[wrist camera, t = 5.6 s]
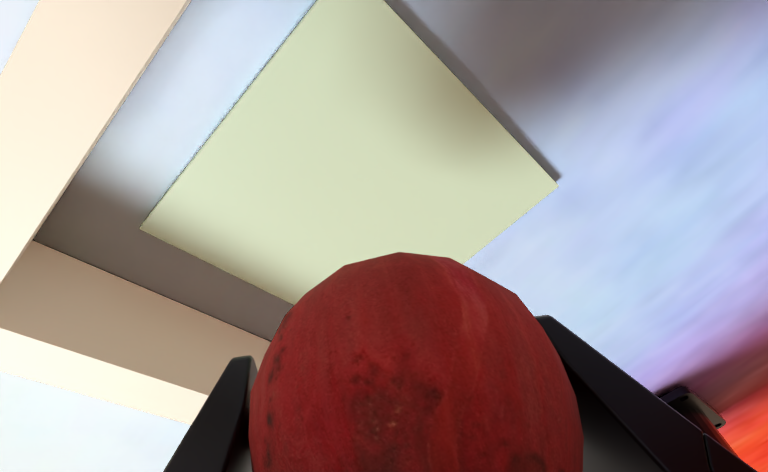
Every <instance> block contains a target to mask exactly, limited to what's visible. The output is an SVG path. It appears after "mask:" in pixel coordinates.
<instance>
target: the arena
mask: <svg viewBox="0 0 768 472" xmlns="http://www.w3.org/2000/svg"><path fill="white" fill-rule="evenodd" d="M190 2H191V0H39V2H38V4H37V6H36V8H35V10H34V12H33V14H32V16H31V17H30V19H29V21H28V23H27V25H26V27H25V29H24V31H23V33H22V35H21V37H20V39H19V40H18V42H17V44H16V46H15V48H14V50H13V52H12V54H11V56H10V58H9V60H8V62H7V64H6V65H5V67H4V69H3V71H2V73H1V75H0V371H2V372H5V373H9V374H12V375H16V376H19V377H23V378H26V379H30V380H33V381H37V382H41V383H44V384H48V385H51V386H55V387H58V388H62V389H65V390H69V391H73V392H76V393H80V394H83V395H87V396H90V397H94V398H97V399H101V400H104V401H108V402H112V403H115V404H119V405H122V406H126V407H129V408H133V409H136V410H140V411H143V412H147V413H151V414H154V415H158V416H161V417H165V418H168V419H172V420H175V421H179V422H182V423H186V424H190V425H192V423H193V421H194V420H195V418H196V416H197V415H198V413H199V411H200V410H201V408H202V406H203V405H204V403H205V401H206V400H207V398H208V396H209V395H210V393H211V391H212V390H213V388H214V386H215V385H216V383H217V381H218V380H219V378H220V376H221V375H222V373H223V371H224V370H225V368H226V366H227V365H228V363H229V362H230V360H231V359H232V358H234V357H240V356H247V355H251V356H252V357H253V358H254V361H255V364H256V367H257V370H258V371H259V368H260V365H261V363H262V360H263V357H264V355H265V353H266V351H267V349H268V347H269V345H270V343H271V342H270V341H267V340H265V339H263V338H260V337H258V336H256V335H253V334H251V333H249V332H246V331H244V330H242V329H239V328H237V327H235V326H232V325H230V324H227V323H225V322H223V321H220V320H218V319H216V318H213V317H211V316H209V315H206V314H204V313H202V312H199V311H197V310H195V309H192V308H190V307H188V306H185V305H183V304H181V303H178V302H176V301H174V300H171V299H169V298H167V297H164V296H162V295H159V294H157V293H155V292H152V291H150V290H148V289H145V288H143V287H141V286H138V285H136V284H134V283H131V282H129V281H127V280H124V279H122V278H120V277H117V276H115V275H113V274H110V273H108V272H106V271H103V270H101V269H99V268H96V267H94V266H91V265H89V264H87V263H84V262H82V261H80V260H77V259H75V258H73V257H70V256H68V255H66V254H63V253H61V252H59V251H56V250H54V249H52V248H49V247H47V246H45V245H42V244H40V243H38V242H35V241H33V238H34V237H35V235H36V234H37V232H38V231H39V229H40V228H41V226H42V225H43V223H44V222H45V220H46V219H47V217H48V216H49V214H50V213H51V211H52V210H53V208H54V207H55V205H56V204H57V202H58V201H59V199H60V198H61V196H62V194H63V193H64V191H65V190H66V188H67V187H68V185H69V184H70V182H71V181H72V179H73V178H74V176H75V175H76V173H77V172H78V170H79V169H80V167H81V166H82V164H83V163H84V161H85V160H86V158H87V157H88V155H89V154H90V152H91V151H92V149H93V148H94V146H95V145H96V143H97V142H98V140H99V139H100V137H101V136H102V134H103V133H104V131H105V130H106V128H107V127H108V125H109V124H110V122H111V121H112V119H113V118H114V116H115V115H116V113H117V112H118V110H119V109H120V107H121V106H122V104H123V103H124V101H125V100H126V98H127V97H128V95H129V94H130V92H131V91H132V89H133V88H134V86H135V85H136V83H137V82H138V80H139V79H140V77H141V76H142V74H143V73H144V71H145V70H146V68H147V67H148V65H149V64H150V62H151V61H152V59H153V58H154V56H155V55H156V53H157V52H158V50H159V48H160V47H161V45H162V44H163V42H164V41H165V39H166V38H167V36H168V35H169V33H170V32H171V30H172V29H173V27H174V26H175V24H176V23H177V21H178V20H179V18H180V17H181V15H182V14H183V12H184V11H185V9H186V8H187V6H188V5H189V3H190ZM558 186H559V185H558V184H557V183H556V182H555V181H554V180H553V179H552V178H551V177H550V176H549V175H548V174H547V173H546V172H545V170H544V169H543V168H542V167H541V166H540V165H539V164H538V163H537V162H536V161H535V160H534V159H533V158H532V157H531V156H530V155H529V154H528V152H527V151H526V150H525V149H524V148H523V147H522V146H521V145H520V144H519V143H518V142H517V141H516V140H515V139H514V138H513V137H512V136H511V134H510V133H509V132H508V131H507V130H506V129H505V128H504V127H503V126H502V125H501V124H500V123H499V122H498V121H497V120H496V119H495V118H494V116H493V115H492V114H491V113H490V112H489V111H488V110H487V109H486V108H485V107H484V106H483V105H482V104H481V103H480V102H479V101H478V100H477V98H476V97H475V96H474V95H473V94H472V93H471V92H470V91H469V90H468V89H467V88H466V87H465V86H464V85H463V84H462V83H461V82H460V80H459V79H458V78H457V77H456V76H455V75H454V74H453V73H452V72H451V71H450V70H449V69H448V68H447V67H446V66H445V65H444V64H443V62H442V61H441V60H440V59H439V58H438V57H437V56H436V55H435V54H434V53H433V52H432V51H431V50H430V49H429V48H428V47H427V46H426V44H425V43H424V42H423V41H422V40H421V39H420V38H419V37H418V36H417V35H416V34H415V33H414V32H413V31H412V30H411V29H410V28H409V26H408V25H407V24H406V23H405V22H404V21H403V20H402V19H401V18H400V17H399V16H398V15H397V14H396V13H395V12H394V11H393V10H392V8H391V7H390V6H389V5H388V4H387V3H386V2H385V1H384V0H317V1H316V2H315V3H314V5H313V6H312V7H311V8H310V10H309V11H308V12H307V13H306V15H305V16H304V17H303V19H302V20H301V21H300V22H299V24H298V25H297V26H296V27H295V29H294V30H293V31H292V33H291V34H290V35H289V36H288V38H287V39H286V40H285V42H284V43H283V44H282V45H281V47H280V48H279V49H278V50H277V52H276V53H275V54H274V56H273V57H272V58H271V59H270V61H269V62H268V63H267V65H266V66H265V67H264V68H263V70H262V71H261V72H260V73H259V75H258V76H257V77H256V79H255V80H254V81H253V82H252V84H251V85H250V86H249V88H248V89H247V90H246V91H245V93H244V94H243V95H242V96H241V98H240V99H239V100H238V102H237V103H236V104H235V105H234V107H233V108H232V109H231V111H230V112H229V113H228V114H227V116H226V117H225V118H224V119H223V121H222V122H221V123H220V125H219V126H218V127H217V128H216V130H215V131H214V132H213V134H212V135H211V136H210V137H209V139H208V140H207V141H206V142H205V144H204V145H203V146H202V148H201V149H200V150H199V151H198V153H197V154H196V155H195V156H194V158H193V159H192V160H191V162H190V163H189V164H188V165H187V167H186V168H185V169H184V171H183V172H182V173H181V174H180V176H179V177H178V178H177V179H176V181H175V182H174V183H173V185H172V186H171V187H170V188H169V190H168V191H167V192H166V194H165V195H164V196H163V197H162V199H161V200H160V201H159V202H158V204H157V205H156V206H155V208H154V209H153V210H152V211H151V213H150V214H149V215H148V217H147V218H146V219H145V220H144V222H143V223H142V224H141V226H140V228H139V229H140V230H142V231H144V232H146V233H148V234H150V235H152V236H154V237H156V238H158V239H160V240H162V241H164V242H166V243H168V244H170V245H172V246H174V247H177V248H179V249H181V250H183V251H185V252H187V253H189V254H191V255H193V256H195V257H197V258H199V259H201V260H203V261H205V262H207V263H209V264H211V265H213V266H215V267H217V268H219V269H221V270H223V271H225V272H227V273H229V274H231V275H233V276H235V277H237V278H239V279H242V280H244V281H246V282H248V283H250V284H252V285H254V286H256V287H258V288H260V289H262V290H264V291H266V292H268V293H270V294H272V295H274V296H276V297H278V298H280V299H282V300H284V301H286V302H288V303H290V304H292V305H295V304H296V303H297V302H298V301H299V300H300V299H301V298H302V297H303V296H304V294H306V293H307V292H308V291H310V290H311V289H312V288H314V287H315V286H317V285H318V284H319V283H321V282H322V281H323V280H325V279H326V278H327V277H329V276H330V275H332V274H333V273H334V272H336V271H337V270H338V269H340V268H341V267H343V266H344V265H347V264H351V263H355V262H359V261H364V260H368V259H372V258H376V257H380V256H384V255H388V254H392V253H396V252H405V253H414V254H422V255H431V256H440V257H449V258H451V259H453V260H455V261H457V262H459V263H461V264H464V263H465V262H466V261H467V260H469V259H470V258H471V257H472V256H474V255H475V254H476V253H477V252H479V251H480V250H481V249H482V248H483V247H485V246H486V245H487V244H488V243H490V242H491V241H492V240H493V239H494V238H496V237H497V236H498V235H499V234H501V233H502V232H503V231H504V230H506V229H507V228H508V227H509V226H510V225H512V224H513V223H514V222H515V221H517V220H518V219H519V218H520V217H521V216H523V215H524V214H525V213H526V212H528V211H529V210H530V209H531V208H533V207H534V206H535V205H536V204H537V203H539V202H540V201H541V200H542V199H544V198H545V197H546V196H547V195H548V194H550V193H551V192H552V191H553V190H555V189H556V188H557V187H558Z"/></svg>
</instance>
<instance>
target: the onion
mask: <svg viewBox="0 0 768 472" xmlns="http://www.w3.org/2000/svg"><path fill="white" fill-rule="evenodd" d="M249 446H250V456H251V466H252V472H583V446H584V436H583V430H582V425H581V420H580V415H579V410H578V405H577V400H576V395H575V393H574V390H573V388H572V386H571V383H570V381H569V378H568V376H567V373H566V371H565V368H564V366H563V364H562V361H561V359H560V356H559V354H558V353H557V351H556V349H555V348H554V346H553V344H552V343H551V341H550V339H549V338H548V336H547V334H546V333H545V331H544V329H543V327H542V326H541V325H540V324H539V322H538V321H537V320H536V319H535V317H534V316H533V315H532V314H531V312H530V311H529V310H528V309H527V307H526V306H525V305H524V304H523V302H522V301H521V300H520V298H519V297H518V296H517V295H516V294H515V293H513V292H512V291H510V290H508V289H506V288H504V287H503V286H501V285H499V284H497V283H496V282H494V281H492V280H490V279H488V278H487V277H485V276H483V275H481V274H479V273H477V272H476V271H474V270H472V269H470V268H468V267H466V266H464V265H463V264H461V263H459V262H457V261H455V260H453V259H451V258H449V257H440V256H431V255H422V254H414V253H405V252H396V253H392V254H388V255H384V256H380V257H376V258H372V259H368V260H364V261H359V262H355V263H351V264H347V265H344V266H343V267H341V268H340V269H338V270H337V271H336V272H334V273H333V274H332V275H330V276H329V277H327V278H326V279H325V280H323V281H322V282H321V283H319V284H318V285H317V286H315V287H314V288H312V289H311V290H310V291H308V292H307V293H306V294H304V296H303V297H302V298H301V299H300V300H299V301H298V302H297V303H296V304H295V305H294V306H293V307H292V309H291V310H290V311H289V312H288V313H287V314H286V315H285V317H284V319H283V320H282V322H281V324H280V326H279V328H278V330H277V332H276V334H275V336H274V338H273V339H272V341H271V343H270V345H269V347H268V349H267V351H266V353H265V355H264V357H263V360H262V363H261V365H260V368H259V371H258V374H257V376H256V379H255V382H254V384H253V387H252V390H251V392H250V414H249Z"/></svg>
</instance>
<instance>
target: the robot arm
mask: <svg viewBox="0 0 768 472" xmlns="http://www.w3.org/2000/svg"><path fill="white" fill-rule="evenodd" d="M534 317H535V319H536V320H537V321H538V322H539V324H540V325H541V326H542V327H543V329H544V331H545V333H546V334H547V336H548V338H549V339H550V341H551V343H552V344H553V346H554V348H555V349H556V351H557V353H558V354H559V356H560V359H561V361H562V364H563V366H564V368H565V371H566V373H567V376H568V378H569V381H570V383H571V386H572V388H573V390H574V393H575V395H576V400H577V405H578V410H579V415H580V420H581V425H582V430H583V436H584V446H583V472H757V471H756V470H754V469H753V468H752V467H750V466H749V465H748V464H746V463H745V462H744V461H742V460H741V459H740V458H739V457H738V456H737V455H736V453H735V452H734V451H733V449H732V448H731V447H730V446H729V444H728V443H727V442H726V440H725V439H724V438H723V436H722V435H721V434H720V433H719V431H718V430H717V429H719V428H721V427H722V426H724V425H725V423H726V421H725V420H724V419H723V418H722V416H721V415H720V414H719V413H717V412H716V411H715V410H714V409H713V408H711V407H710V406H709V405H708V404H707V403H706V402H704V401H703V400H702V399H701V398H700V397H699V396H697V395H696V394H695V393H694V392H693V391H691V390H690V389H689V388H688V387H686V386H684V387H679V388H677V389H675V390H673V391H671V392H670V393H668V394H666V395H664V396H662V397H661V398H658V397H657V396H656V395H654V394H653V393H652V392H650V391H649V390H648V389H647V388H645V387H644V386H643V385H641V384H640V383H639V382H637V381H636V380H635V379H633V378H632V377H631V376H629V375H628V374H627V373H625V372H624V371H623V370H621V369H620V368H619V367H618V366H616V365H615V364H614V363H612V362H611V361H610V360H608V359H607V358H606V357H604V356H603V355H602V354H600V353H599V352H598V351H596V350H595V349H594V348H593V347H591V346H590V345H589V344H587V343H586V342H585V341H583V340H582V339H581V338H579V337H578V336H577V335H575V334H574V333H573V332H571V331H570V330H569V329H567V328H566V327H565V326H564V325H562V324H561V323H560V322H558V321H557V320H556V319H554V318H553V317H551V316H549V315H542V316H534ZM257 374H258V370H257V367H256V364H255V361H254V358H253V357H252V356H251V355H247V356H240V357H234V358H232V359H231V360H230V362H229V363H228V365H227V366H226V368H225V370H224V371H223V373H222V375H221V376H220V378H219V380H218V381H217V383H216V385H215V386H214V388H213V390H212V391H211V393H210V395H209V396H208V398H207V400H206V401H205V403H204V405H203V406H202V408H201V410H200V411H199V413H198V415H197V416H196V418H195V420H194V421H193V423H192V425H191V426H190V428H189V430H188V431H187V433H186V435H185V436H184V438H183V440H182V441H181V443H180V445H179V446H178V448H177V450H176V451H175V453H174V455H173V456H172V458H171V460H170V461H169V463H168V465H167V466H166V468H165V470H164V471H163V472H252V466H251V456H250V446H249V414H250V392H251V390H252V387H253V384H254V382H255V379H256V376H257Z"/></svg>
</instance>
